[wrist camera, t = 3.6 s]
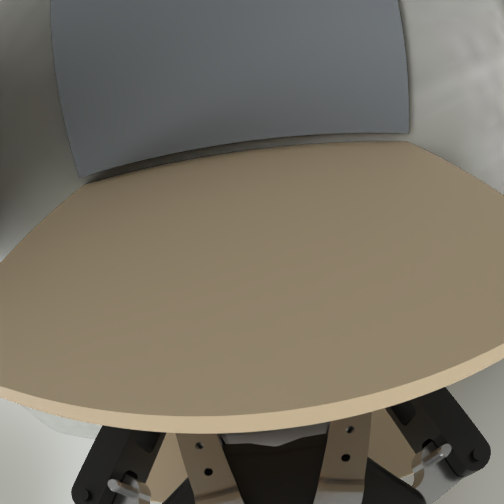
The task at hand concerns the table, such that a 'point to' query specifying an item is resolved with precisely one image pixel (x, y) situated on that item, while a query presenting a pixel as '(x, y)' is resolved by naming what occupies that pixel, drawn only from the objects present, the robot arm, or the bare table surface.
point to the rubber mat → (223, 73)
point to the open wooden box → (257, 295)
